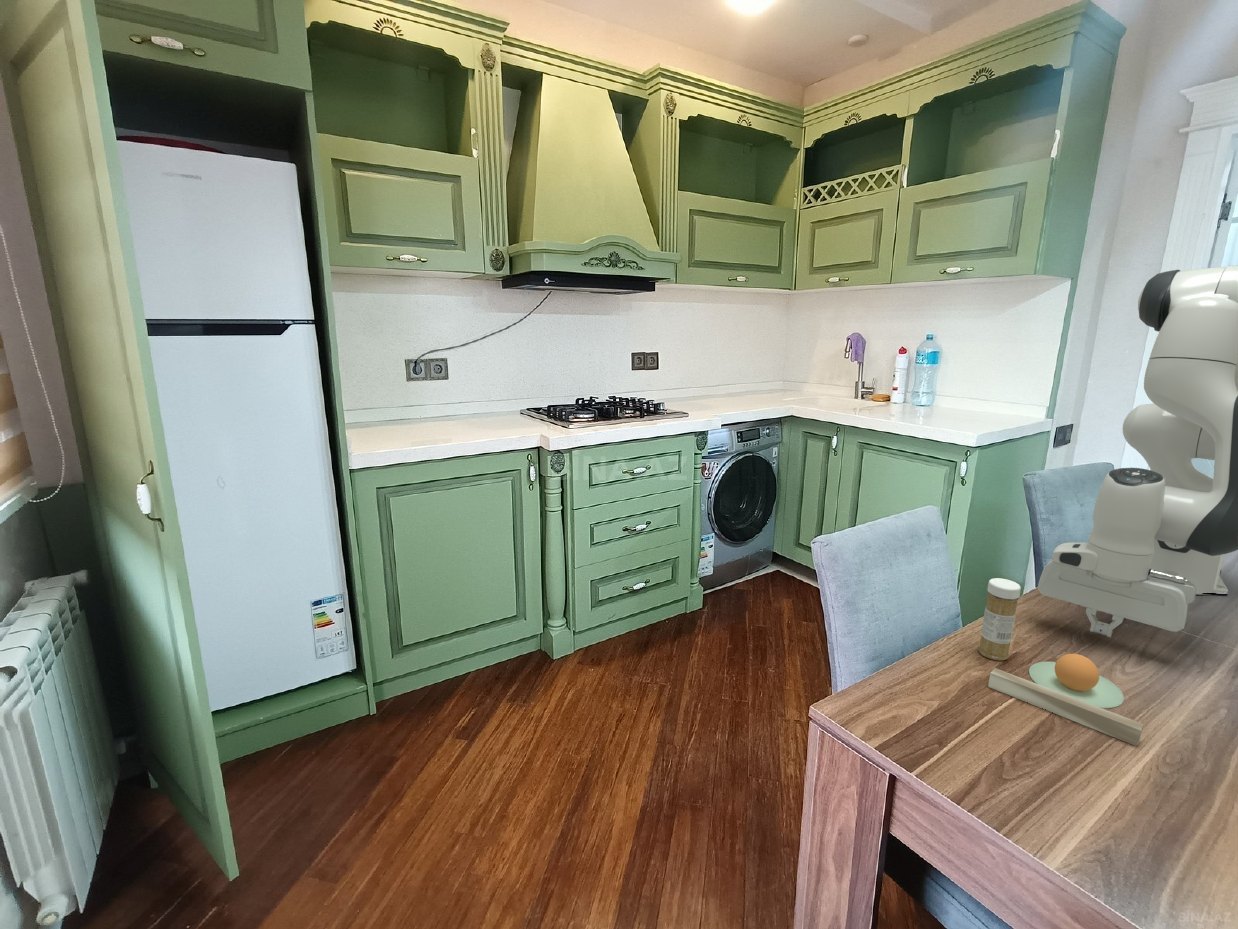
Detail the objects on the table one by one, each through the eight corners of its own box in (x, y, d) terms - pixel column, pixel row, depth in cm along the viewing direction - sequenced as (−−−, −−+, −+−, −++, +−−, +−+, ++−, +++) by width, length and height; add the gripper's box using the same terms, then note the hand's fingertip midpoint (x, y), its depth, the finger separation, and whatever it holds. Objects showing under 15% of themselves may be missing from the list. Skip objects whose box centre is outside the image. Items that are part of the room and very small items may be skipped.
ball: (1061, 641, 94) (1051, 664, 91) (1105, 655, 90) (1095, 680, 87) (1058, 664, 96) (1048, 688, 93) (1101, 679, 92) (1092, 704, 89)
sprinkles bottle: (1004, 650, 103) (1016, 579, 99) (1011, 664, 98) (1025, 590, 95) (974, 645, 104) (985, 575, 101) (980, 659, 100) (992, 586, 97)
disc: (1039, 654, 101) (1040, 653, 101) (1129, 685, 93) (1130, 684, 93) (1019, 682, 93) (1019, 681, 93) (1115, 719, 85) (1116, 718, 85)
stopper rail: (992, 681, 94) (994, 667, 93) (1139, 739, 81) (1143, 724, 80) (988, 686, 92) (990, 672, 92) (1137, 746, 79) (1141, 730, 79)
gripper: (1201, 575, 96) (1181, 650, 100) (1051, 541, 111) (1038, 607, 114) (1197, 586, 92) (1177, 664, 96) (1042, 549, 107) (1029, 618, 110)
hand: (1100, 633), depth 105 cm, fingers closed
